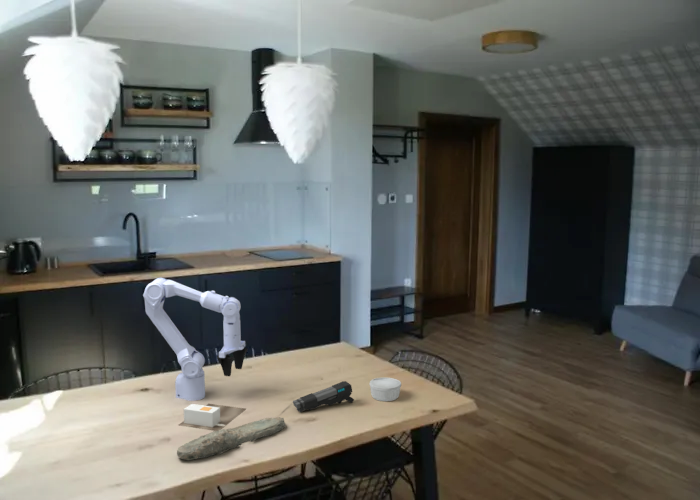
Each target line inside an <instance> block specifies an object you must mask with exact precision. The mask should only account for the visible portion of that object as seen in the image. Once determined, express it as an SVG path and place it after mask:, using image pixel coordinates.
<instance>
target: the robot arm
mask: <svg viewBox="0 0 700 500" xmlns="http://www.w3.org/2000/svg"><path fill="white" fill-rule="evenodd" d="M143 291H144V292H143V294H142V296H143V300H144V308H145V309H144V310H145V311H144V312H145V314H146V315H147V316H148V318H149V319H150V321H151V322H152V324H153V325H154V326H155V327H156V329H157V330H158V332H159V333H160V334H161V336H162V337H163V338H164V340H165V341H166V342H167V344H168V345H169V347H170V348H171V349H172V351H174V353H175V354H176V357H177V362H178V364H179V366H180V367H181V372H180V373H178V374H177V376H176V379H175V381H174V383H175V384H174V385H175V398H176V399H180V400H185V401H189V402H190V401H191V402H192V401H199V400H202V399H204V398H205V397H206V383H205V382H206V381H205V378H206V377H205V375H206V374H205V371H204V369H203V366H204V365H205V362H206V359H205V356H204V355H203V354H202V353H201V352H199V351H198V350H196V348H195V347H194V346H193V345H190V344H189V343H188V341H187V340H186V338H185V337H184V336H183V334H182V333H181V332H180V330H179V329H178V328H177V326H176V325H175V323H174V322H173V321H172V320H171V317H170V316H169V315H168V314H167V312H166V311H165V310H164V303H165V300H166V298H171V297H175V296H178V297H182V298H185V299H189V300H191V301H195V302H199V304H200V305H201V307H202V308H205V309H208V310H211V311H212V312H213V311H214V312H217V313H221V314H222V315H223V320H222V322H223V323H222V324H223V329H222V330H223V346H222V348H221V350H220V351H218V355H217V356H216V359H217V361H218V363H219V364H220V366H221V369H222V372H223V375H224V376H225V377H231V375H232V366H233V365H232V364H233V361H234V368H235V369H236V370H242V368H243V364H244V359H245V356H246V354H247V352H248V348H247V347H246V340H241V339H242V338H241V336H242V335H241V334H242V333H241V315H240V310H241V302H240V300H238V299H237V298H236V297H234V296H230V297H229V296H228V295H225V296H224V295H221V294H218V293H216V291H215V290H207V291H203V292H202V291H200V290H196V289H194V288H192V287H189V286H187V285H184V284H182V283H180V282H177V281H175V280H172V279H167V278H164V277H157V278H155V279H154V280H153V281H151V282H150V283H148V284H147V285H146V287H145V289H144V290H143ZM230 354H232V356H231V355H230Z"/></svg>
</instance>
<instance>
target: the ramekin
mask: <svg viewBox="0 0 700 500" xmlns="http://www.w3.org/2000/svg"><path fill="white" fill-rule="evenodd" d="M368 385H369V387H370V389H369V390H370V394H371V397H372V398H373V399H374V400H376V401H379V402H393V401H396V400H397V399H398V398H399V397H400V393H401V387H402V381H400V380H399V379H396V378H393V377H375V378H372V379H371V380H370V381H369V384H368Z"/></svg>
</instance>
